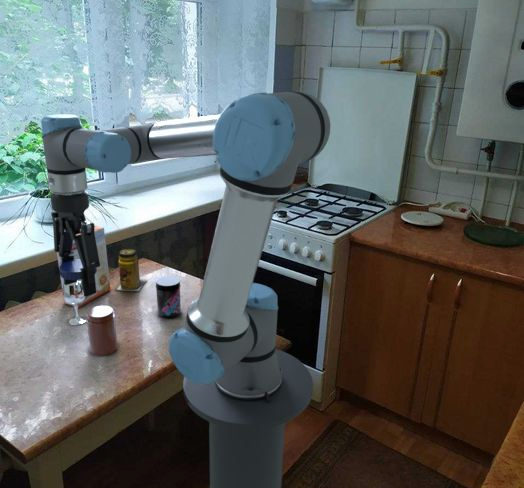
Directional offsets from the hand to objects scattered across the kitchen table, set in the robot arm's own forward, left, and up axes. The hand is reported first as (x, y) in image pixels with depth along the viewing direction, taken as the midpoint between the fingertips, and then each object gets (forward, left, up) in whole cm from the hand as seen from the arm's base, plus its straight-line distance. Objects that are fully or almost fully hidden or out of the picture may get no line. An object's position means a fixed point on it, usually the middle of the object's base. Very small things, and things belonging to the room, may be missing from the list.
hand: (80, 288), depth 113 cm
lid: (0, 0, +5) cm, 5 cm away
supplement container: (+4, -28, -19) cm, 35 cm away
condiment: (+27, -32, -19) cm, 46 cm away
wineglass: (+19, -8, -19) cm, 28 cm away
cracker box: (+30, -18, -19) cm, 40 cm away
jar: (+2, -5, -19) cm, 20 cm away
